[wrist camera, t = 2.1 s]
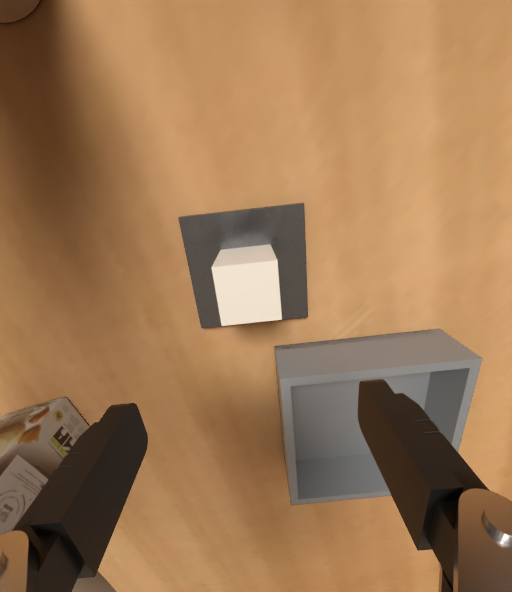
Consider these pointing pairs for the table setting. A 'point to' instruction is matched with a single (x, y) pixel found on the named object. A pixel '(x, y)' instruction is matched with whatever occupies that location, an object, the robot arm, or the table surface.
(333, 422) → the grey bin
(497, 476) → the table surface
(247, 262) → the white rectangular block
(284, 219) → the stud plate
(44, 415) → the cereal box
